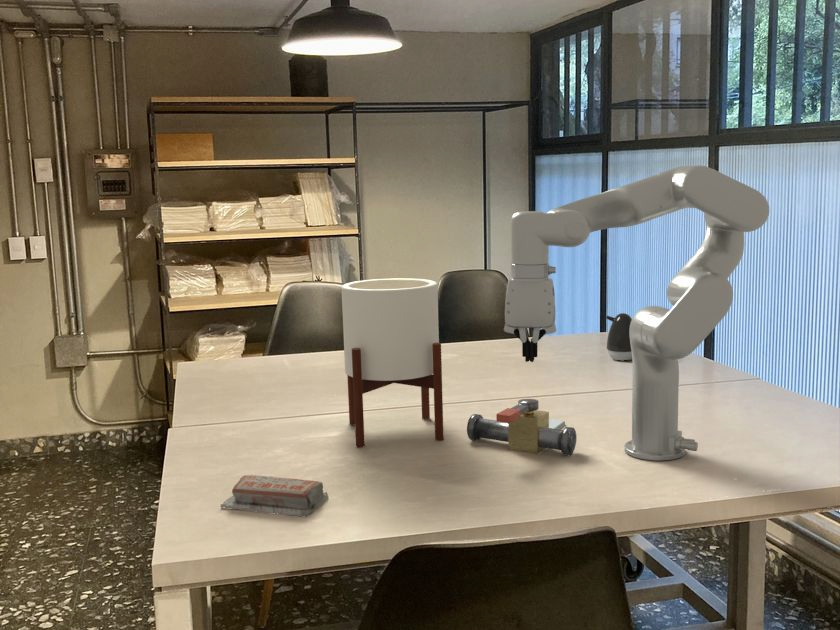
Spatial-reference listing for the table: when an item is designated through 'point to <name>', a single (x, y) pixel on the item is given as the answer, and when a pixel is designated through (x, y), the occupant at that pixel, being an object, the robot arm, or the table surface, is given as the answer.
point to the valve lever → (517, 410)
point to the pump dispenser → (619, 337)
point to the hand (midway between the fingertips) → (529, 360)
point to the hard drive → (556, 423)
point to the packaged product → (276, 495)
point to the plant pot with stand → (392, 343)
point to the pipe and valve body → (524, 433)
